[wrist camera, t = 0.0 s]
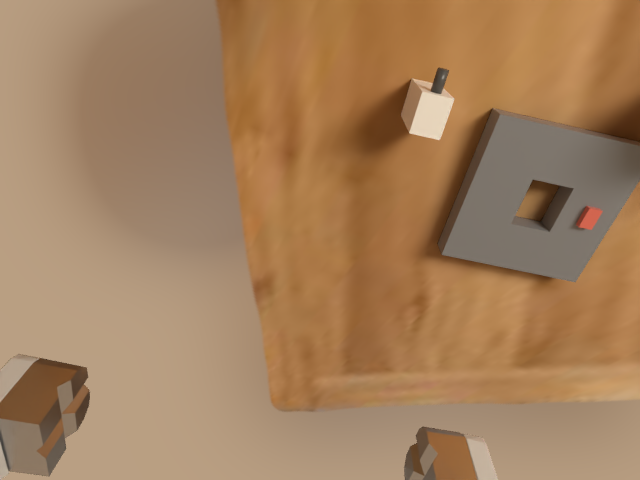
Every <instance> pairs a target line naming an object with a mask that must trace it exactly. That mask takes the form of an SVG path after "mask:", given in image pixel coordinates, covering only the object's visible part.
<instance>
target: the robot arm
mask: <svg viewBox="0 0 640 480" xmlns="http://www.w3.org/2000/svg"><path fill="white" fill-rule="evenodd" d="M87 378H88V373H87V368H86V367H81V366H77V365H72V364H67V363H62V362H57V361H52V360H47V359H42V358H37V357H31V356H27V355H21V354H18V355H16V356H14V357H13V358H11V359H10V360H9V361H8V362H7V363H6V364H5V365H4V366H3V367H2V369H1V370H0V480H1V479H2V478H4V477H5V476H6V475H8V474H9V471H12V472H19V473H27V474H34V475H42V476H50V474H51V473H52V471H53V469H54V468H55V466H56V464H57V463H58V461H59V460H60V458H61V456H62V455H63V453H64V451H65V450H66V444H65V438H66V437H68V436H69V435H71V434H73V433H74V432H76V431H77V430H78V428H79V427H80V425H81V423H82V421H83V420H84V417H85V414H86V412H87V409H88V406H89V400H90V392H89V389H88V388H87V387H86V386H85V385H84V383H85V381H86V380H87ZM416 439H417V443H416V444H414V445H412V446H410V448H409V450H408V452H407V455H406V460H405V466H404V476H405V480H498V478H497V475H496V472H495V469H494V466H493V463H492V460H491V457H490V454H489V451H488V448H487V445H486V442H485V440H484V439H483V438H482V437H479V436H473V435H468V434H461V433H458V432H453V431H447V430H441V429H435V428H428V427H421V428H420V429H419V430H418V432H417V434H416Z"/></svg>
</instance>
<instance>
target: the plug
mask: <svg viewBox="0 0 640 480" xmlns="http://www.w3.org/2000/svg"><path fill="white" fill-rule="evenodd" d="M448 73H449V70H447V69H443V68H438V69H437V72H436V75H435V78H434V81H433V83H430V82H426V81H421V80H417V79H413V78H412V79H411V83H410V86H409V89H408V93H407V96H406V99H405V103H404V106H403V109H402V113H401V117H402V119H403V121H404V123H405V125H406V128H407V130H408V132H409V133H410V134H415V135H419V136H424V137H428V138H433V139H437V140H440V138H441V135H442V133H443V130H444V127H445V124H446V121H447V119H448V116H449V113H450V110H451V107H452V105H453V102H454V98H453V97H452V96H451V95H450V94H449V93H448V92H447V91H446V90H445V89H444V88H443V87H444V84H445V81H446V79H447V76H448Z"/></svg>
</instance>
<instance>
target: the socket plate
mask: <svg viewBox="0 0 640 480" xmlns="http://www.w3.org/2000/svg"><path fill="white" fill-rule="evenodd" d="M532 180H537V181H542V182H547V183H551V184H556V185H560V187H559V189H558V191H557V192H556V194H555V196H554V198H553V200H552V202H551V204H550V206H549V208H548V209H547V211H546V213H545V215H544V217H543V219H542V221H541V222H540V221H535V220H531V219H526V218H521V217H517V216H515V215H516V213H517V211H518V209H519V207H520V205H521V203H522V201H523V199H524V197H525V194H526V192H527V190H528V188H529V186H530V184H531V182H532ZM639 180H640V142H638V141H634V140H629V139H625V138H620V137H616V136H612V135H607V134H603V133H599V132H594V131H590V130H586V129H581V128H577V127H572V126H568V125H564V124H559V123H555V122H551V121H546V120H542V119H538V118H533V117H529V116H524V115H520V114H516V113H511V112H507V111H503V110H498V109H494V108H493V109H492V111H491V114H490V116H489V118H488V121H487V123H486V126H485V128H484V131H483V133H482V136H481V138H480V141H479V143H478V146H477V148H476V151H475V153H474V155H473V158H472V160H471V163H470V165H469V168H468V170H467V173H466V175H465V178H464V180H463V183H462V185H461V187H460V190H459V192H458V195H457V197H456V200H455V202H454V205H453V207H452V210H451V212H450V215H449V217H448V219H447V222H446V224H445V227H444V229H443V232H442V234H441V237H440V239H439V242H438V246H439V249H440V252H441V254H442V255H445V256H450V257H455V258H460V259H465V260H470V261H475V262H479V263H484V264H489V265H494V266H499V267H504V268H509V269H514V270H518V271H523V272H528V273H533V274H538V275H543V276H548V277H553V278H557V279H562V280H567V281H572V282H576V280H577V279H578V277H579V276H580V274H581V272H582V271H583V269H584V268H585V266H586V265H587V263H588V261H589V260H590V258H591V257H592V255H593V253H594V252H595V250H596V249H597V247H598V245H599V244H600V242H601V241H602V239H603V238H604V236H605V234H606V233H607V231H608V230H609V228H610V226H611V225H612V223H613V222H614V220H615V219H616V217H617V215H618V214H619V212H620V211H621V209H622V207H623V206H624V204H625V203H626V201H627V199H628V198H629V196H630V195H631V193H632V192H633V190H634V188H635V187H636V185H637V184H638V182H639Z"/></svg>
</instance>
